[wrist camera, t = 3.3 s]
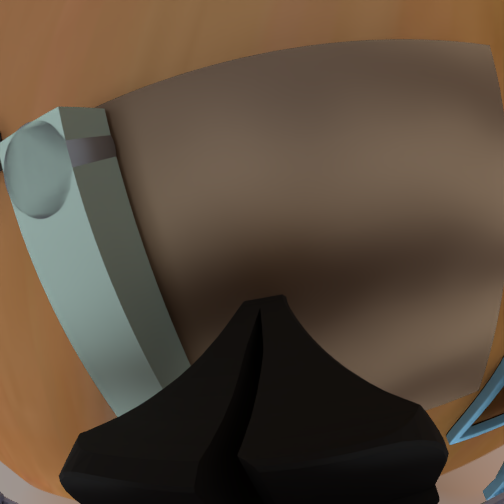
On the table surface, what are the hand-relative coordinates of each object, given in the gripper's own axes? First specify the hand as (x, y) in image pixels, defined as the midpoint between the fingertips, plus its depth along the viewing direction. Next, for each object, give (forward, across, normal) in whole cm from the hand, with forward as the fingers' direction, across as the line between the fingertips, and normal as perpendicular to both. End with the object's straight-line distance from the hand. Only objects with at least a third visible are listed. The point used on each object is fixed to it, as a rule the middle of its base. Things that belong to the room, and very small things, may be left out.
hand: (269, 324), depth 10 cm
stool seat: (+3, -2, 0) cm, 4 cm away
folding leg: (+1, +5, -2) cm, 5 cm away
